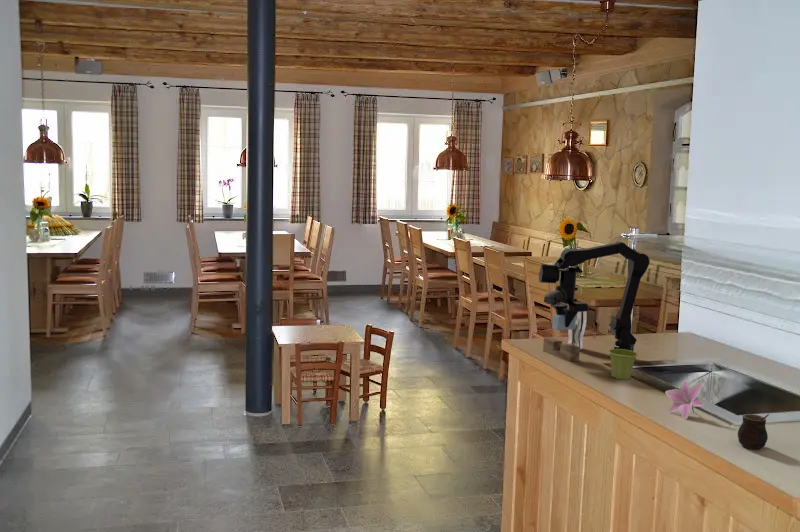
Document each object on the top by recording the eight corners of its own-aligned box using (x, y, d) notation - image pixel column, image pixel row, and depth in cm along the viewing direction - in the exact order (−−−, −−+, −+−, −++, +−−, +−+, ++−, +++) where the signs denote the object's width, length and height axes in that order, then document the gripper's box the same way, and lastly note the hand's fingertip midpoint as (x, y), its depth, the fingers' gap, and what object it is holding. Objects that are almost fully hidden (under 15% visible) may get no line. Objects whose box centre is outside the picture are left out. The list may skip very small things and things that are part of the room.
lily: (662, 408, 242) (656, 384, 238) (699, 395, 242) (694, 371, 237) (679, 434, 232) (673, 409, 227) (718, 420, 231) (713, 395, 227)
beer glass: (587, 349, 308) (590, 311, 306) (572, 350, 305) (575, 311, 303) (577, 345, 314) (580, 307, 312) (562, 346, 311) (565, 308, 309)
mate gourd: (744, 439, 215) (748, 403, 214) (772, 448, 210) (777, 411, 208) (731, 445, 211) (735, 408, 209) (759, 454, 205) (764, 416, 204)
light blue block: (569, 327, 298) (570, 314, 297) (574, 329, 295) (575, 315, 295) (552, 328, 294) (553, 315, 294) (557, 330, 292) (558, 316, 291)
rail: (551, 350, 305) (552, 337, 304) (578, 360, 291) (579, 347, 290) (542, 350, 303) (543, 337, 302) (569, 361, 289) (571, 348, 288)
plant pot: (635, 375, 274) (637, 350, 273) (635, 382, 265) (637, 357, 264) (606, 372, 277) (609, 347, 276) (606, 379, 268) (608, 353, 267)
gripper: (534, 280, 297) (530, 321, 299) (566, 289, 281) (562, 333, 283) (558, 279, 302) (554, 320, 304) (591, 288, 286) (587, 331, 288)
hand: (563, 326), depth 295 cm, fingers closed on light blue block, 3 cm apart
